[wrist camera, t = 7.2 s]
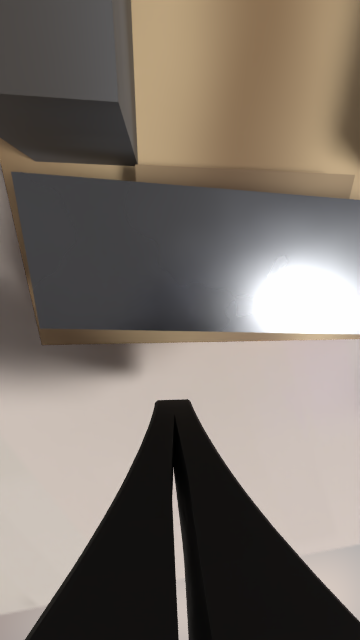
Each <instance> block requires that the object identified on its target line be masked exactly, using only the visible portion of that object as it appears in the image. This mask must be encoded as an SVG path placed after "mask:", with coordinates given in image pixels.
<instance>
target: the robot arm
mask: <svg viewBox="0 0 360 640" xmlns="http://www.w3.org/2000/svg"><path fill="white" fill-rule="evenodd" d="M173 467H174V476H175V484H176V492H177V500H178V509H179V517H180V525H181V533H182V541H183V552H184V564H185V581H186V598H187V614H188V615H187V616H188V634H189V640H360V622H359V621H358V620H357V618H355V617H354V616H353V614H352V613H351V612H350V611H349V610H348V609H347V608H346V607H345V606H344V605H343V604H342V603H341V602H340V600H339V599H338V598H337V597H336V596H335V595H334V594H333V593H332V592H331V591H330V590H329V589H328V588H327V587H326V586H325V585H324V584H323V582H322V581H321V580H320V579H319V578H318V577H317V576H316V575H315V574H314V573H313V572H312V570H311V569H310V568H309V567H308V566H307V565H306V564H305V562H304V561H303V560H302V559H301V558H300V557H299V556H298V554H297V553H296V552H295V551H294V550H293V549H292V548H291V546H290V545H289V544H288V543H287V542H286V541H285V540H284V539H283V537H282V536H281V535H280V534H279V533H278V532H277V531H276V529H275V528H274V527H273V526H272V525H271V523H270V522H269V521H268V520H267V518H266V517H265V516H264V515H263V513H262V512H261V511H260V510H259V509H258V507H257V506H256V505H255V504H254V502H253V501H252V500H251V498H250V497H249V496H248V494H247V493H246V492H245V491H244V489H243V488H242V487H241V485H240V484H239V482H238V481H237V480H236V478H235V477H234V475H233V474H232V473H231V471H230V470H229V468H228V467H227V465H226V464H225V462H224V461H223V459H222V458H221V456H220V455H219V453H218V452H217V450H216V449H215V447H214V445H213V444H212V442H211V440H210V439H209V437H208V435H207V434H206V432H205V430H204V429H203V427H202V425H201V423H200V421H199V419H198V417H197V415H196V413H195V411H194V409H193V407H192V404H191V402H190V401H189V400H188V399H186V400H158V401H157V402H156V403H155V407H154V411H153V415H152V418H151V421H150V424H149V427H148V429H147V432H146V434H145V437H144V439H143V442H142V444H141V446H140V449H139V451H138V453H137V455H136V457H135V459H134V461H133V464H132V466H131V468H130V470H129V472H128V474H127V476H126V478H125V480H124V482H123V484H122V486H121V488H120V489H119V491H118V493H117V495H116V497H115V499H114V500H113V502H112V504H111V506H110V507H109V509H108V511H107V513H106V515H105V516H104V518H103V520H102V521H101V523H100V525H99V526H98V528H97V530H96V531H95V533H94V535H93V536H92V538H91V540H90V541H89V543H88V545H87V546H86V548H85V549H84V551H83V553H82V554H81V556H80V557H79V559H78V561H77V562H76V564H75V565H74V567H73V568H72V570H71V571H70V573H69V574H68V576H67V577H66V579H65V580H64V582H63V583H62V585H61V586H60V588H59V589H58V591H57V592H56V594H55V595H54V597H53V598H52V600H51V601H50V603H49V604H48V606H47V607H46V609H45V611H44V612H43V613H42V615H41V616H40V618H39V619H38V621H37V623H36V624H35V625H34V627H33V628H32V630H31V632H30V633H29V635H28V636H27V637H26V639H25V640H178V619H177V598H176V576H175V555H174V533H173V510H172V489H173Z"/></svg>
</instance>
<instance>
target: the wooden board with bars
mask: <svg viewBox="0 0 360 640" xmlns="http://www.w3.org/2000/svg"><path fill="white" fill-rule="evenodd" d="M0 163H1V167H2V172H3V176H4V180H5V185H6V189H7V194H8V198H9V202H10V207H11V211H12V216H13V220H14V225H15V229H16V233H17V238H18V242H19V247H20V251H21V256H22V260H23V264H24V269H25V273H26V278H27V282H28V286H29V291H30V295H31V300H32V304H33V309H34V313H35V317H36V322H37V326H38V331H39V335H40V340H41V344H42V345H70V344H123V343H175V342H227V341H280V340H332V339H360V334H312V333H256V332H201V331H145V330H89V329H40V327H39V322H38V316H37V311H36V305H35V300H34V294H33V289H32V283H31V278H30V273H29V267H28V262H27V256H26V251H25V245H24V240H23V234H22V229H21V223H20V218H19V213H18V207H17V202H16V196H15V191H14V185H13V180H12V174H11V172H24V173H36V174H48V175H60V176H73V177H85V178H97V179H109V180H122V181H134V182H146V183H158V184H171V185H183V186H195V187H207V188H220V189H232V190H244V191H256V192H269V193H281V194H293V195H305V196H318V197H330V198H342V199H354V200H360V0H0Z"/></svg>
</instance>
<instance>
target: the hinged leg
mask: <svg viewBox="0 0 360 640" xmlns="http://www.w3.org/2000/svg"><path fill="white" fill-rule="evenodd" d="M11 174H12V180H13V185H14V191H15V196H16V202H17V207H18V213H19V218H20V223H21V229H22V234H23V240H24V245H25V251H26V256H27V262H28V267H29V273H30V278H31V283H32V289H33V294H34V300H35V305H36V311H37V316H38V322H39V327H40V329H89V330H145V331H201V332H256V333H312V334H360V200H354V199H342V198H330V197H318V196H305V195H293V194H281V193H269V192H256V191H244V190H232V189H220V188H207V187H195V186H183V185H171V184H158V183H146V182H134V181H122V180H109V179H97V178H85V177H73V176H60V175H48V174H36V173H24V172H11Z"/></svg>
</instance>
